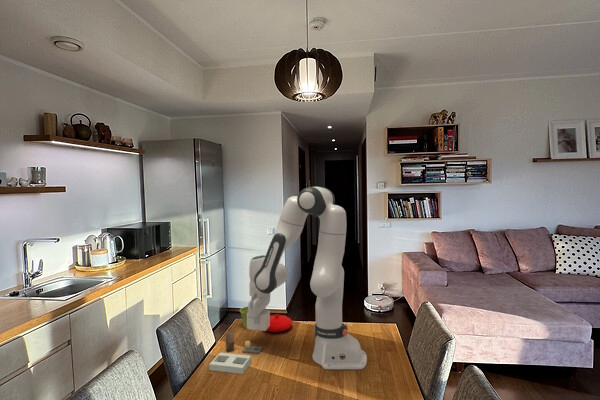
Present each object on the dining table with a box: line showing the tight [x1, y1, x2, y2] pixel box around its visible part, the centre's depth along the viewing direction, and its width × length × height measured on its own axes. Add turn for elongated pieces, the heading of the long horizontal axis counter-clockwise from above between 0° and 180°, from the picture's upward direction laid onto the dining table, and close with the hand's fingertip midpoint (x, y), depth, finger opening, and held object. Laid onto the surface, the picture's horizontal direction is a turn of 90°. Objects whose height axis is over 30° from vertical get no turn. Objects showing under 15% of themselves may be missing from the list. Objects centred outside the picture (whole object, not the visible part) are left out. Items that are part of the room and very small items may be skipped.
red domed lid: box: [266, 313, 293, 333], centre depth 163 cm, size 16×16×7 cm
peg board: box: [208, 352, 252, 375], centre depth 129 cm, size 14×9×2 cm, turn 77°
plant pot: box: [239, 306, 248, 329], centre depth 167 cm, size 9×9×9 cm
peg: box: [225, 329, 235, 353], centre depth 142 cm, size 4×4×8 cm
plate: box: [241, 340, 263, 355], centre depth 141 cm, size 7×4×4 cm, turn 77°
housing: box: [246, 309, 271, 332], centre depth 148 cm, size 9×6×7 cm, turn 77°
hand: (259, 320), depth 148 cm, fingers closed on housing, 6 cm apart
